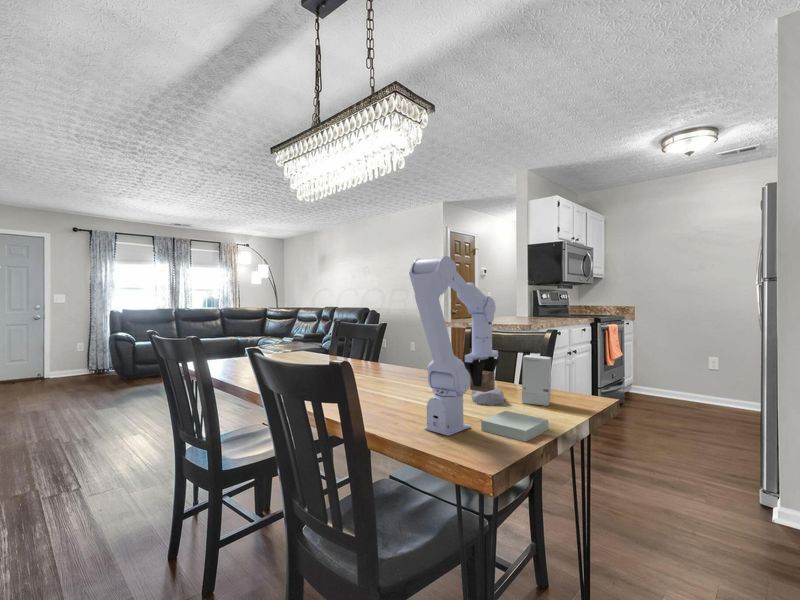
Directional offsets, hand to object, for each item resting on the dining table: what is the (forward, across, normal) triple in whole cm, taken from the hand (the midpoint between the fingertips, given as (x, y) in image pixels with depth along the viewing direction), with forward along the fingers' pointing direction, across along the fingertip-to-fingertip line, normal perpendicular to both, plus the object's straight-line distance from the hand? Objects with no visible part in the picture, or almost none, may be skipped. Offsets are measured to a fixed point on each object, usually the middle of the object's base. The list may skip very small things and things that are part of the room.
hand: (482, 384), depth 115 cm
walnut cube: (+1, 0, 0) cm, 1 cm away
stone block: (+9, +14, +8) cm, 18 cm away
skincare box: (+9, +22, -6) cm, 24 cm away
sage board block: (+9, -7, -14) cm, 18 cm away
